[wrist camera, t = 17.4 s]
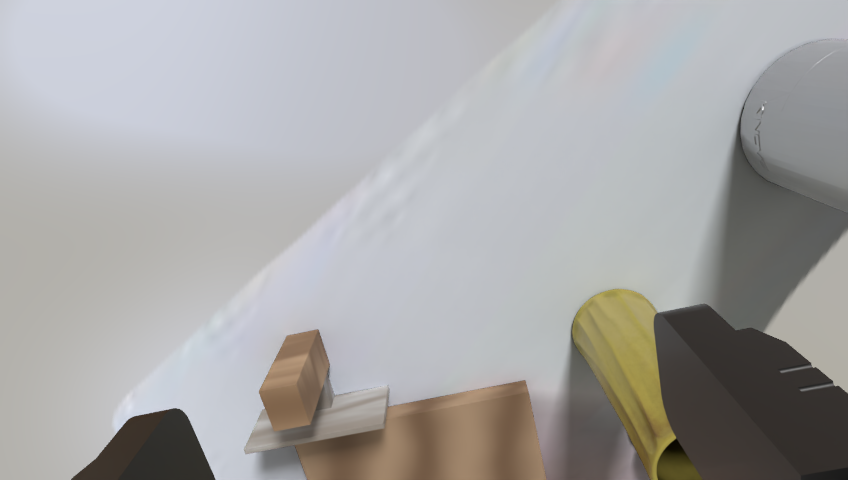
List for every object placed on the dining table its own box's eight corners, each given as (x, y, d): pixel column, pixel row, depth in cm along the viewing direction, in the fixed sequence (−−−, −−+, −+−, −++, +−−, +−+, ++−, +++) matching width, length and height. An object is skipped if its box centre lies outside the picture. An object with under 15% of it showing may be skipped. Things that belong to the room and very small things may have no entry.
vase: (635, 372, 41) (734, 530, 28) (558, 351, 41) (621, 500, 27) (671, 301, 39) (796, 433, 26) (590, 277, 39) (675, 399, 25)
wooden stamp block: (237, 345, 41) (200, 403, 34) (368, 319, 40) (356, 372, 34) (264, 414, 43) (233, 480, 36) (389, 389, 42) (381, 453, 35)
